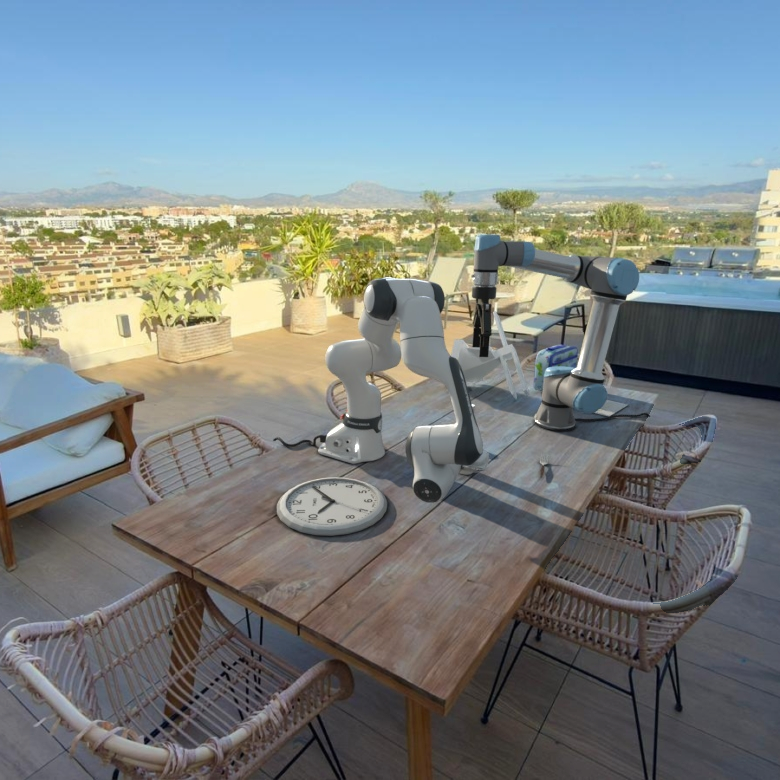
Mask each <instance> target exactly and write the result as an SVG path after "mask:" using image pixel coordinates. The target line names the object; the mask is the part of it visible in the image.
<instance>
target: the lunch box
mask: <svg viewBox="0 0 780 780" xmlns="http://www.w3.org/2000/svg"><path fill="white" fill-rule="evenodd" d="M578 353H579V352H578V347H577V346H571V345H565V344H556V345H553V346H549V347H546V348H544V349H541V350H539V351H538V353H537V354H536V357H535V361H534V371H533V372H534V373H533V389H534V390H535V391H539V392H543V381H544V374H545V370H546V369H547V368H549V367H556V366H564V367H573V368H576V367H577V364H578V358H579V354H578Z"/></svg>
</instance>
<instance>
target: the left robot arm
mask: <svg viewBox="0 0 780 780" xmlns="http://www.w3.org/2000/svg"><path fill="white" fill-rule="evenodd" d="M363 293H364V294H363V305H364V306H363V308H362V310H361V313H360V317H359V319H358V322H357V329H358V332H359V334H360V335H361V337H362V338H360V339H359V338H358V339H350V340H349V339H348V340H342V341H338V342H335V343H332V344H330V345H329V346H328V348H327V349H326V352H325V356H324V361H325V366H326V368H327V369H328V371H329V372H330V373H331V374H332V375H334V376H335V377H336V378H338V379H339V381H341V384H342V385H343V387H344V390H345V395H346V410H345V411H344V412H343V413H342V415H340V419H339V420H340V421H341V420H342V421H341V422H340V423H339V424H337V425H335V427H333V428H332V429H330V430H328V429H324V430H323V431H322V432H321V433H320V434H318V435H316V436H315V437H314V438H313V440H311V439H302V440H300V441H298V442H296V443H287V442H285V441H284V440H283V439H282V438H281V437H279V436H276V437H274V438H273V439H272V441H273V442H276V441H279V442H280V443H281V444H282V445H284V446H285V447H288V448H294V447H298V446H299V445H301V444H304V443H309V444H310V445H311V446H312V447H314V446H316V444H317V439H319V442H320V443H321V444H320V446H319V447H318V454H319V455H321V456H324V457H329V458H332V459H335V460H338V461H342V462H346V463H348V464H353V465H355V464H360V463H363V462H372V461H376V460H379V459H381V458H383V457H384V456H385V455H386V450H385V446H384V442H383V434H382V430H383V413H382V392H381V390H380V388H379V387H378V386H377V385H375V384H374V383H371V382H369V381H368V380H367V374H370V373H371V374H372V373H378V372H384V371H388V370H391V369H393V368H396V367H398V365H400V363H401V361H402V362H403V364H404V366H405V367H406V368H407V369H408V370H409V371H411V372H412V373H414V374H416V375H418V376H420V377H423V378H427V379H432V380H434V381H437V382H439V383H441V384H443V385H444V386H445V387H446V389H447V391H448V393H449V397H450V401H451V405H452V410H453V413H454V417H455V423H449V424H430V425H416V426H415V427H414V428H412V429H411V431H410V432H409V434H408V435H407V438H406V441H405V457H406V460H407V462H408V465H409V466H410V468H411V470H412V471H413V472H414V473H413V480H412V491H413V494H414V495H415V496H416V497H417V498H418V499H419V500H420V501H423V502H424V503H433V504H434V503H437V502H439V501H442V500H443V499H444V498H445V497H446V496H447V495H448V493H449V492H450V490H451V488H452V487H453V486H454V484H455V481H456V480H457V478H458V476H459V475H460V471H461V470H464V471H469V472H473V473H475V474H476V473H477V474H479V473H481V472H484V471H485V470H486V469H487V467H488V466H489V459H490V453H489V452H488V451H486V450H484V442H483V437H482V434H481V431H480V428H479V426H478V421H477V422H476V420H477V418H476V415H475V416H474V414H475V411H474V412H473V408H472V404H473V403H472V400H471V397H470V392H469V389H468V386H467V383H466V381H465V378H464V374H463V371H462V368H461V366H460V364H459V362H458V360H457V359H456V358H454V357H452V356H451V353H450V352H449V350H448V349H447V346H446V341H445V333H444V332H445V331H444V325H443V320H442V315H441V314H442V312H443V310H444V307H445V304H446V303H445V302H446V297H445V292H444V290H443V288H442V286H441V284H438V283H436V282H435V281H431V280H420V279H414V278H395V277H390V276H388V277H383V278H375V279H372V280H370V281H369V282H368V284H367V285H366V286H365V289H364V292H363ZM398 324H399V342H398V340H396V339H395V338H394V334H395V331H396V329H397V327H398ZM475 418H476V419H475Z"/></svg>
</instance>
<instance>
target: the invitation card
mask: <svg viewBox="0 0 780 780" xmlns="http://www.w3.org/2000/svg"><path fill="white" fill-rule="evenodd" d="M628 406H629V404H627V403H623V402H618V401H614V400H609V399H607V400H606V402H605V404H604V405H603V407H602V408H601V409H598V410H597V411H596V412H594V413H593V414H596V415H600V416H604V417H610V416H613V415H615V414H616V413H617V412H619V411H621V410H623V409H624V408H626V407H628Z"/></svg>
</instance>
